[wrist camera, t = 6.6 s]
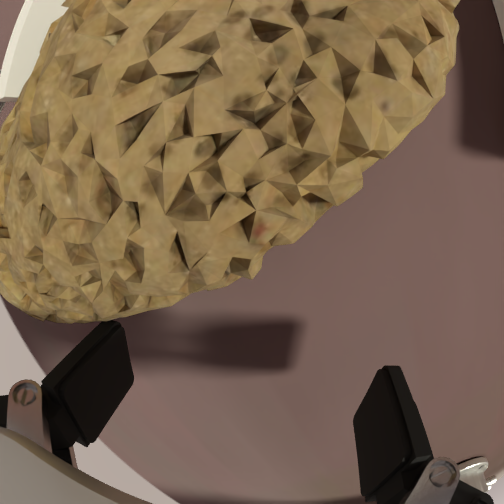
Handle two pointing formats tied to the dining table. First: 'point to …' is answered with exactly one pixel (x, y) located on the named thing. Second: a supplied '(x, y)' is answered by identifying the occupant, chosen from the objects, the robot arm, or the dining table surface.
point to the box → (34, 32)
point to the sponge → (199, 140)
